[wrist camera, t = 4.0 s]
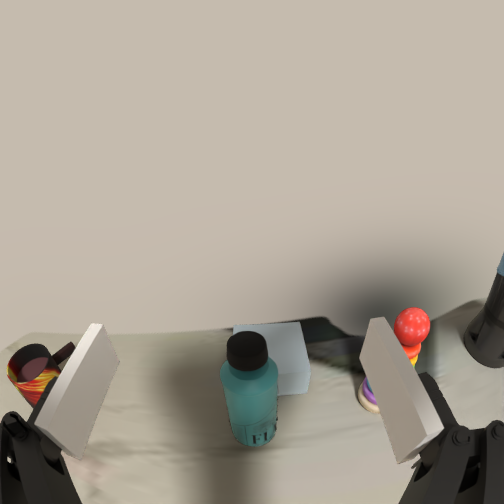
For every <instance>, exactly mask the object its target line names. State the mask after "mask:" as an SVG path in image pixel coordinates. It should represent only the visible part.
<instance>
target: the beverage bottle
mask: <svg viewBox="0 0 504 504" xmlns="http://www.w3.org/2000/svg"><path fill="white" fill-rule="evenodd" d="M220 378H221V381H222V385H223V389H224V394H225V398H226V403H227V408H228V409H227V410H228V414H229V418H230V421H229V422H231V427H232V431H233V434H234V436H235V438H236V439H237V440H238V442H241V443H242V444H244V445H247V446H253V447H255V446H261V445H264V444H266V443H268V442H269V441H270V440H272V437H273V436H274V435H275V431H276V429H277V428H276V423H277V422H276V420H277V419H276V414H277V406H278V405H277V400H278V398H279V397H278V398H277V390H278V391H279V388H278V385H277V379H278V368H277V365H276V363H275V362H274V361H273V360H272V359H271V358H270V357H269V356H268V349H267V343H266V340H265V338H264V337H263V336H262V335H261V334H259V333H257V332H254V331H241V332H238V333H236V334H234V335H232V336H231V337H230V338H229V340H228V342H227V360H226V361H225V362H224V364H223V365H222V367H221V370H220ZM278 384H279V383H278ZM278 393H279V392H278ZM277 418H278V417H277Z"/></svg>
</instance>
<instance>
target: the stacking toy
mask: <svg viewBox="0 0 504 504" xmlns="http://www.w3.org/2000/svg"><path fill="white" fill-rule="evenodd" d="M429 330H430V320H429V317H428V315H427V314H426V313H425V312H424V311H423V310H422V309H420V308H416V307H411V308H407V309H405V310H403V311H402V312H401V313H400V314H399V315H398V316H397V318H396V321H395V324H394V334H395V335H396V337H397V339H398V341H399V342H400V344H401V346H402V347H403V349H404V351H405V353H406V354H407V356H408V358H409V360H410V362H411V363H412V365H413V367H414V366H415V363H416V361H417V358H418V353H419V352H420V349H421V342H422V341H423V340H424V339H425V338H426V337H427V335H428V333H429ZM358 398H359V401H360V403H361V404H362V406H363V407H364V408H365V409H367V410H368V411H370V412H373V413H378V414H381V413H380V411H379V408H378V405H377V403H376V400H375V397H374V394H373V392H372V389H371V387H370V384H369V381H368V379H367V376H366V377H365V379H364V381H363V382H362V383H361V385H360V387H359V390H358Z"/></svg>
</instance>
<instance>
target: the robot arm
mask: <svg viewBox="0 0 504 504" xmlns="http://www.w3.org/2000/svg"><path fill="white" fill-rule="evenodd" d="M464 342H465V345H466V348H467V350H468V351H469V353H470V354H471V355H472V356H473V357H474V358H475V359H476V360H477V361H478V362H480V363H481V364H483V365H485V366H488V367H492V368H501V367H504V253H503V256H502V259H501V261H500V264H499V266H498V268H497V274H496V277H495V280H494V283H493V285H492V288H491V291H490V293H489V296H488V298H487V301H486V303H485V306H484V308H483V309H482V310H481V311H480V312H479V314H478V315H477V316H476V317H475V318H474V319H473V321H472V322H471V323H470V324H469V326H468V328H467V330H466V332H465V335H464ZM359 359H360V361H361V364H362V366H363V369H364V371H365V374H366V376H367V379H368V381H369V384H370V387H371V389H372V392H373V394H374V397H375V400H376V403H377V405H378V408H379V411H380V413H381V416H382V419H383V422H384V425H385V428H386V431H387V433H388V436H389V439H390V442H391V445H392V448H393V452H394V455H395V458H396V461H397V464H400V463H403V462H406V461H409V460H411V459H413V458H415V457H416V456H417V455H418V454H420V457H421V458H420V459H419V460H418V461H417V462H416V463H415V464H413V466H412V467H411V468H412V469H413V468H415V467H416V469H415V471H414V473H413V476H412V478H411V480H410V482H409V484H408V486H407V488H406V490H405V492H404V494H403V496H402V498H401V500H400V502H399V504H504V423H503V422H502V421H499V420H495V421H492V422H491V423H490V424H489V425H488V426H487V427H486V428H481V429H474V430H469V429H468V428H467V427H465V426H460V425H459V424H458V423H457V421H456V420H455V418H454V416H453V414H452V412H451V410H450V408H449V406H448V404H447V402H446V400H445V398H444V397H443V394H442V393H441V391H440V390H439V387H438V385H437V383H436V382H435V380H434V379H433V378H432V377H431V376H430V375H429V374H428V373H427V372H425V373H421V374H417V373H416V371H415V369H414V367H413V365H412V363H411V362H410V360H409V358H408V356H407V354H406V353H405V351H404V349H403V347H402V346H401V344H400V342H399V341H398V339H397V337H396V335H395V334H394V332H393V330H392V329H391V327H390V325H389V324H388V322H387V321H386V319H385V317H379V318H371V319H370V323H369V326H368V330H367V334H366V337H365V340H364V344H363V347H362V350H361V354H360V357H359ZM119 363H120V361H119V359H118V357H117V354H116V352H115V350H114V348H113V346H112V344H111V341H110V339H109V337H108V335H107V332H106V330H105V328H104V325H103V324H93V323H92V324H91V325H90V327H89V328H88V330H87V331H86V333H85V334H84V336H83V337H82V339H81V341H80V342H79V344H78V345H77V347H76V349H75V350H74V352H73V353H72V355H71V357H70V358H69V360H68V362H67V363H66V365H65V367H64V369H63V370H62V372H61V374H60V375H59V377H56V376H55V377H54V378H52V379H51V380H50V381H49V382H48V383H47V385H46V387H45V389H44V392H42V394H41V396H40V399H39V400H38V402H37V404H36V405H35V407H34V409H33V411H32V413H31V415H30V417H29V419H28V421H27V422H26V421H25V420H24V419H23V418H22V417H21V416H20V415H19V414H18V413H17V412H14V411H12V412H8V413H7V414H5V415H4V417H3V418H2V421H1V423H0V504H82V502H81V500H80V498H79V496H78V494H77V492H76V489H75V487H74V485H73V482H72V480H71V477H70V475H69V472H68V469H67V467H66V464H65V461H64V458H63V456H62V455H61V454H60V453H61V450H63V451H64V452H65V453H66V454H67V455H69V456H71V457H74V458H76V459H79V460H81V459H82V456H83V454H84V451H85V448H86V445H87V442H88V439H89V436H90V434H91V431H92V428H93V426H94V423H95V420H96V418H97V415H98V413H99V410H100V408H101V405H102V403H103V400H104V398H105V395H106V393H107V390H108V388H109V386H110V383H111V381H112V379H113V376H114V374H115V372H116V370H117V367H118V365H119ZM7 456H8V457H9V458H10V459H11V463H9V462H8V461H7Z"/></svg>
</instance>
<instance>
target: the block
mask: <svg viewBox="0 0 504 504" xmlns="http://www.w3.org/2000/svg"><path fill="white" fill-rule="evenodd" d="M241 331H254V332H257V333H259V334H261V335H262V336H263V337H264V338H265V340H266V343H267V349H268V356H269V357H270V358H271V359H272V360H273V361H274V362H275V363H276V365H277V368H278V379H277V385H278V388H279V391H278V390H277V396H281V395H294V394H304V393H307V391H308V386H309V380H310V374H311V369H310V364H309V360H308V355H307V351H306V347H305V342H304V338H303V334H302V329H301V325H300V322H291V323H274V324H252V325H234V329H233V335H234V334H236V333H238V332H241ZM278 383H279V384H278ZM278 392H279V393H278Z"/></svg>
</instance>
